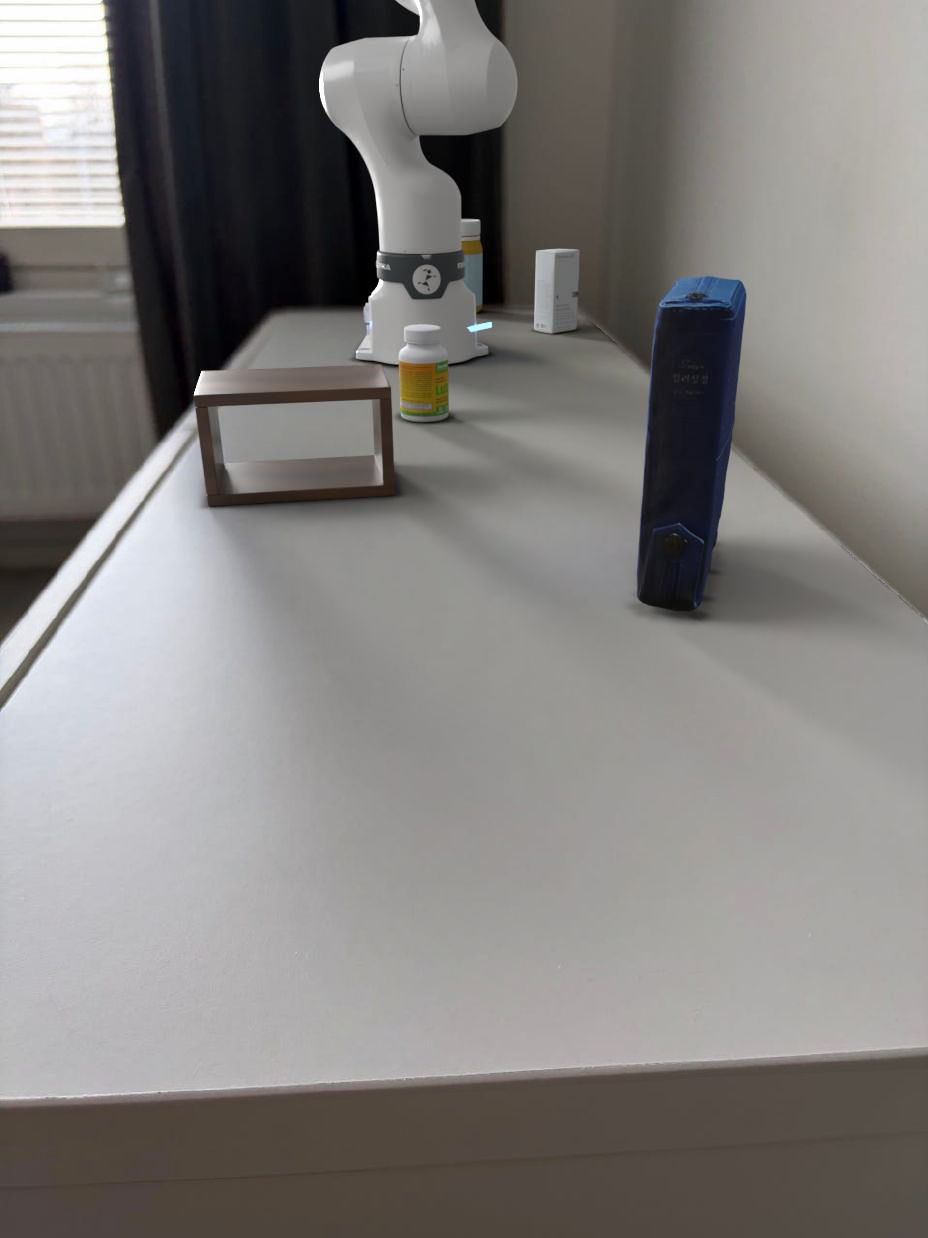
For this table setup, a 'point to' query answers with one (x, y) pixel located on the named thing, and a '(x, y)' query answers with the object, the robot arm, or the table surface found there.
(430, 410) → the supplement bottle
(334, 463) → the shelf
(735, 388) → the book
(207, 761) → the table surface
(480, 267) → the bottle
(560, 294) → the cosmetic box
